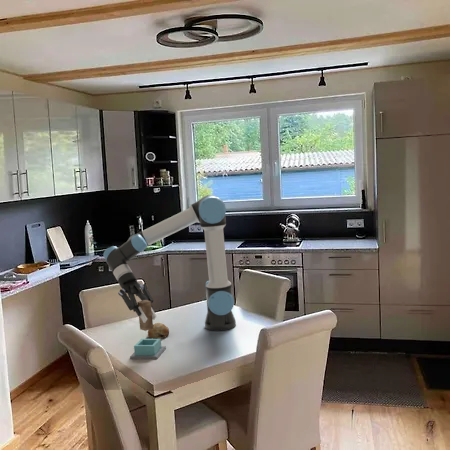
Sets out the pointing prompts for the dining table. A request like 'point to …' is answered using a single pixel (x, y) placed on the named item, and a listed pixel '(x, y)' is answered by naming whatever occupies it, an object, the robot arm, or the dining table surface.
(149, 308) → the walnut post
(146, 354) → the teal square socket
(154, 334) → the bread roll
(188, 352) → the dining table surface
